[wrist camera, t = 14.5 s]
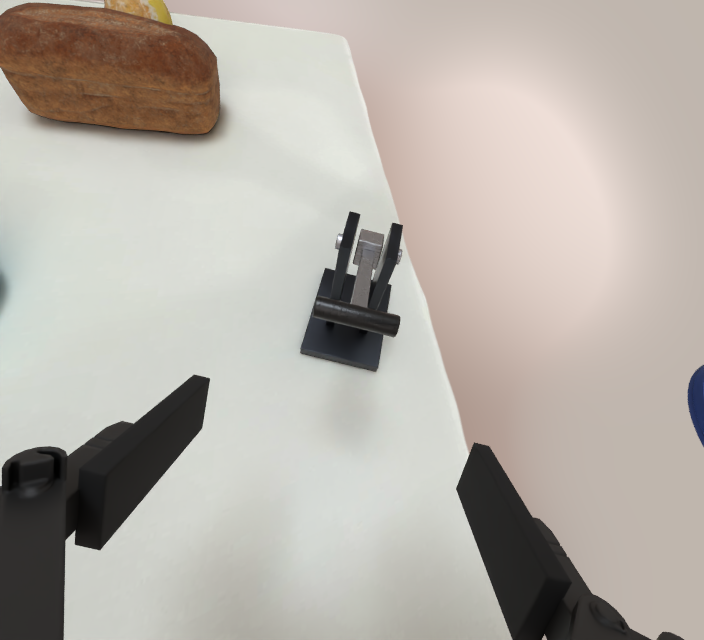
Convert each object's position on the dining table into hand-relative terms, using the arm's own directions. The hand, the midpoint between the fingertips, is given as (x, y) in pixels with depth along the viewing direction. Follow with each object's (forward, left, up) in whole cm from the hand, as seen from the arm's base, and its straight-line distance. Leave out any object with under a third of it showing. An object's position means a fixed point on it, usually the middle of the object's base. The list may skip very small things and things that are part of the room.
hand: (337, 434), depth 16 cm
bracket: (+9, -15, -19) cm, 26 cm away
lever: (+7, -11, -5) cm, 14 cm away
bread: (+60, -19, -19) cm, 66 cm away
